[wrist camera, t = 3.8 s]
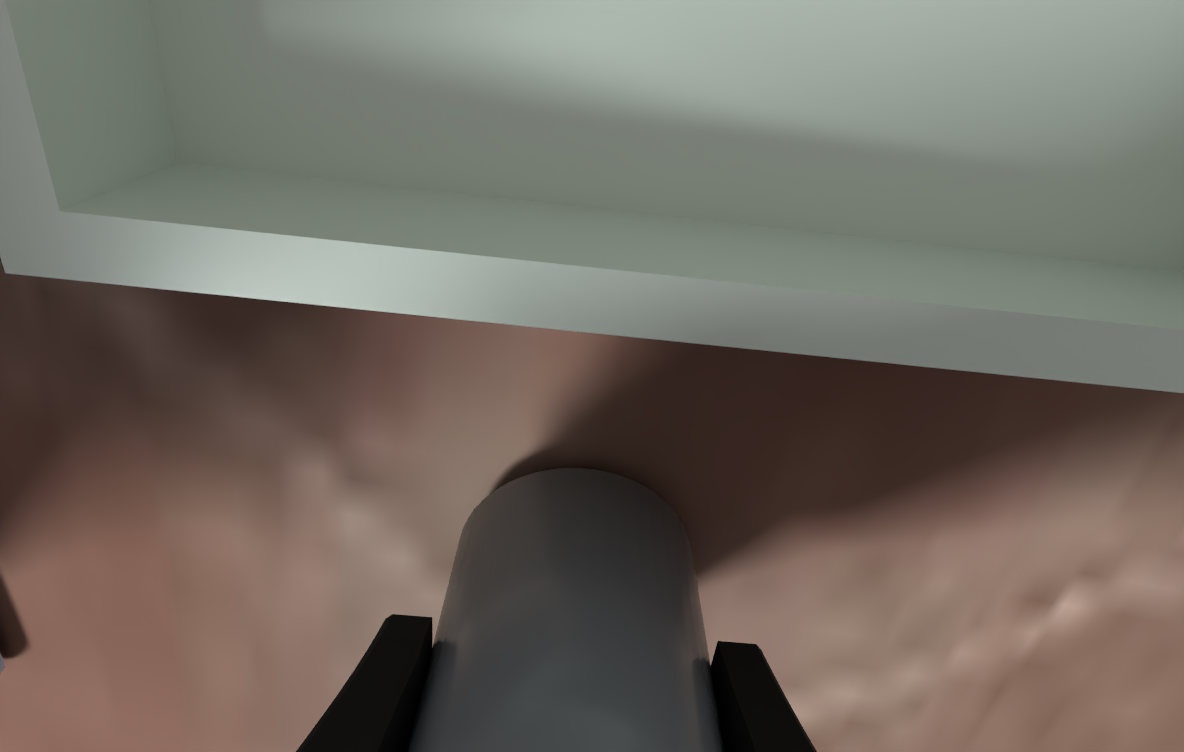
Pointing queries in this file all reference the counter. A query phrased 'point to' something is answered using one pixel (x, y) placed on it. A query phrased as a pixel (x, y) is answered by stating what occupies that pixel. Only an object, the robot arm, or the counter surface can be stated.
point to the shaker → (570, 626)
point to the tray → (627, 168)
